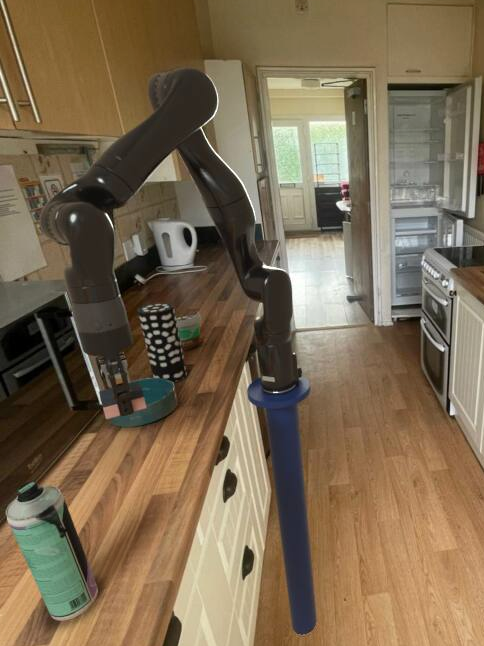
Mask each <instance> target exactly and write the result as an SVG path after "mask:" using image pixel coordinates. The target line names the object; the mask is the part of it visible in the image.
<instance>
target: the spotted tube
mask: <svg viewBox="0 0 484 646" xmlns="http://www.w3.org/2000/svg"><path fill="white" fill-rule="evenodd" d="M137 314H138V319H139V322H140V327H141V331H142V335H143V336H142V337H143V339H144V343H145V348H146V352H147V357H148V362H149V365H150V370H151V374H152V378H163V379H168V380H170V381H172V382H173V383H175V382H178V381H181V380H183V379H185V377H187V375H188V372H187V368H186V367H187V366H186V361H185V356H184V350H182V346H181V341H180V336H179V331H178V326H177V321H176V318H177V316H176V311H175V306H174V304H172V303H170V302H155V303H149V304H145V305H143V306H140V307H139V308H137Z"/></svg>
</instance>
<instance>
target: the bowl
mask: <svg viewBox="0 0 484 646" xmlns="http://www.w3.org/2000/svg"><path fill="white" fill-rule="evenodd" d="M138 381H139V383H140V385H141V388H142V391H143V395H144V399H145V403H146V407H147V408H144V409H141V410H137V411H134V413H133V414H130V415H127V416H121V415H120V416H116V417H113V418H109V419H106V420H107V422H108V423H110V424H111V425H113V426H116V427H120V428H121V427H122V428H132V427H138V426H144V425H147V424H150V423H154V422H156V421H158V420H161V419H163V418H165V417H167V416H168V415H169V414H171V413H172V412H173V411H174V410H175V409H176V408H177V406H178V401H179V400H178V396H177V390H176V387H175V384H174V382H172V381H170V380H168V379H163V378H153V377H146V378H145V377H144V378H139V379H134V380H130V383H134V382H138ZM130 383H128V384H130Z"/></svg>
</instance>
